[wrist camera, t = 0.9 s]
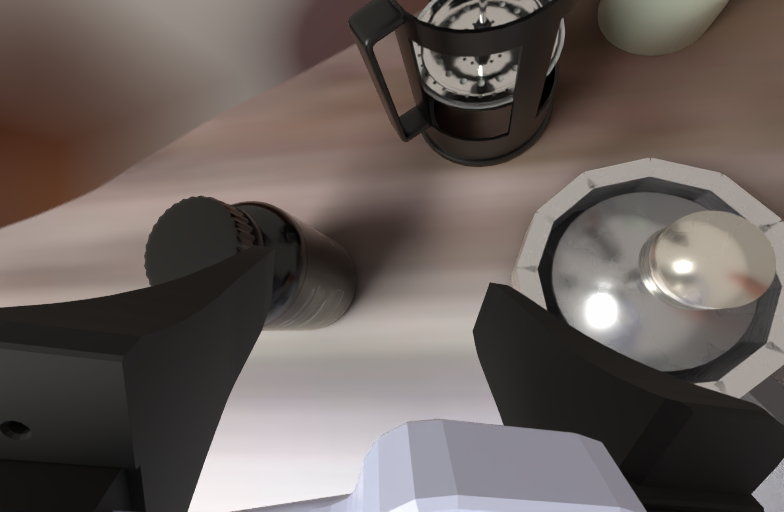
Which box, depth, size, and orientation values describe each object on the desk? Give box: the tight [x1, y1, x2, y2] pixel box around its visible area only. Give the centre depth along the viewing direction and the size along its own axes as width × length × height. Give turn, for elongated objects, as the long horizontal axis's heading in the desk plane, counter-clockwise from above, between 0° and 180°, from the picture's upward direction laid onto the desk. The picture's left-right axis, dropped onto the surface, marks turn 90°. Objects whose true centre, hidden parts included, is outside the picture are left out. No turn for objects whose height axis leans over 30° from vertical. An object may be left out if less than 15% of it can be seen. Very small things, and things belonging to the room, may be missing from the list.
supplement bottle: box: [144, 196, 356, 331], centre depth 21 cm, size 7×7×12 cm
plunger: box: [551, 192, 776, 371], centre depth 16 cm, size 9×9×6 cm
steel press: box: [511, 158, 784, 425], centre depth 20 cm, size 15×12×5 cm
